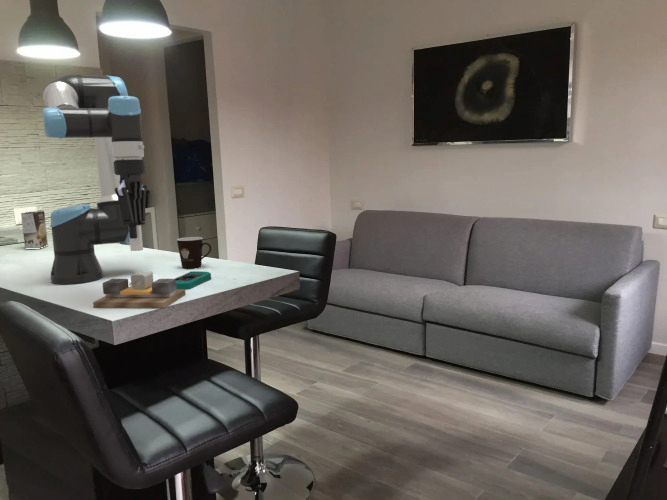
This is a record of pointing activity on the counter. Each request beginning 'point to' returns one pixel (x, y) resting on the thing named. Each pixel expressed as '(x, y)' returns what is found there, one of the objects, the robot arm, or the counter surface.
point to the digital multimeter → (192, 279)
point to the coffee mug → (191, 252)
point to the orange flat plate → (136, 291)
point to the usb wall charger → (141, 280)
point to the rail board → (160, 297)
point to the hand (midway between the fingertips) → (136, 250)
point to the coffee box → (34, 229)
